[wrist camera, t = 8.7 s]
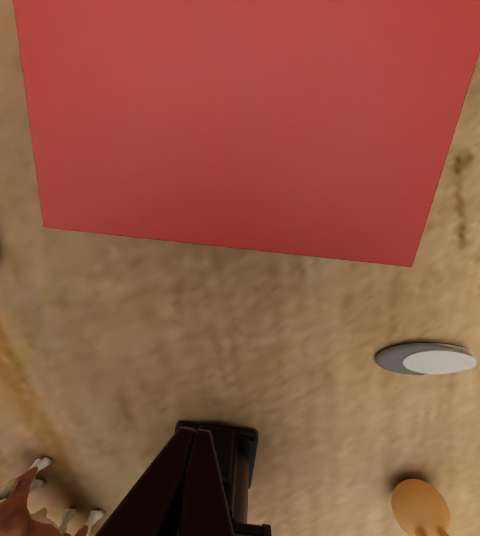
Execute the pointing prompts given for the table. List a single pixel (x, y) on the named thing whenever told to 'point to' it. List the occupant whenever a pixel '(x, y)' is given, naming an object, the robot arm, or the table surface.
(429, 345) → the grey flat oval block
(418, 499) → the figurine
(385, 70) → the lid
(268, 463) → the table surface
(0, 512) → the bull figurine
